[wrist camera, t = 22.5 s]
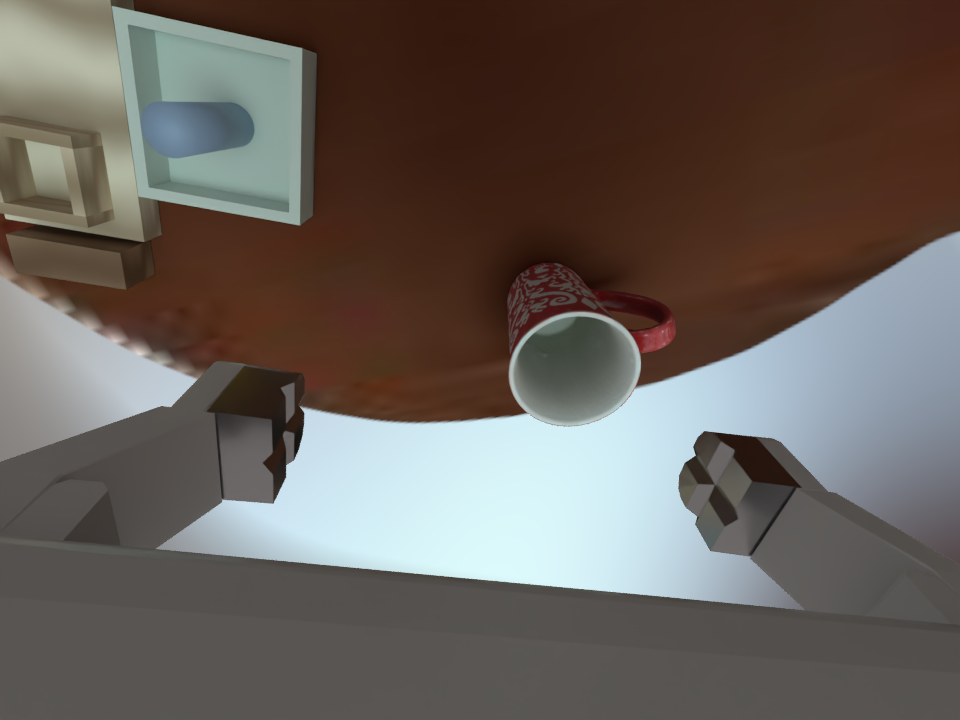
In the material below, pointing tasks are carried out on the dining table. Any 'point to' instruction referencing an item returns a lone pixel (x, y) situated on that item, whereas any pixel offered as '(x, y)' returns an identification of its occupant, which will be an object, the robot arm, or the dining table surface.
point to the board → (67, 121)
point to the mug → (576, 345)
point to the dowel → (195, 127)
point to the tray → (223, 78)
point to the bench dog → (80, 256)
